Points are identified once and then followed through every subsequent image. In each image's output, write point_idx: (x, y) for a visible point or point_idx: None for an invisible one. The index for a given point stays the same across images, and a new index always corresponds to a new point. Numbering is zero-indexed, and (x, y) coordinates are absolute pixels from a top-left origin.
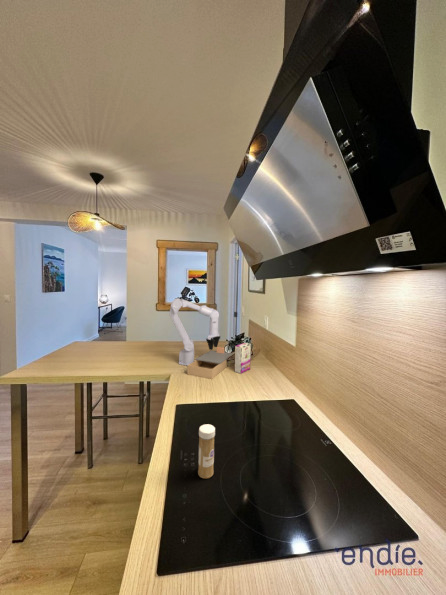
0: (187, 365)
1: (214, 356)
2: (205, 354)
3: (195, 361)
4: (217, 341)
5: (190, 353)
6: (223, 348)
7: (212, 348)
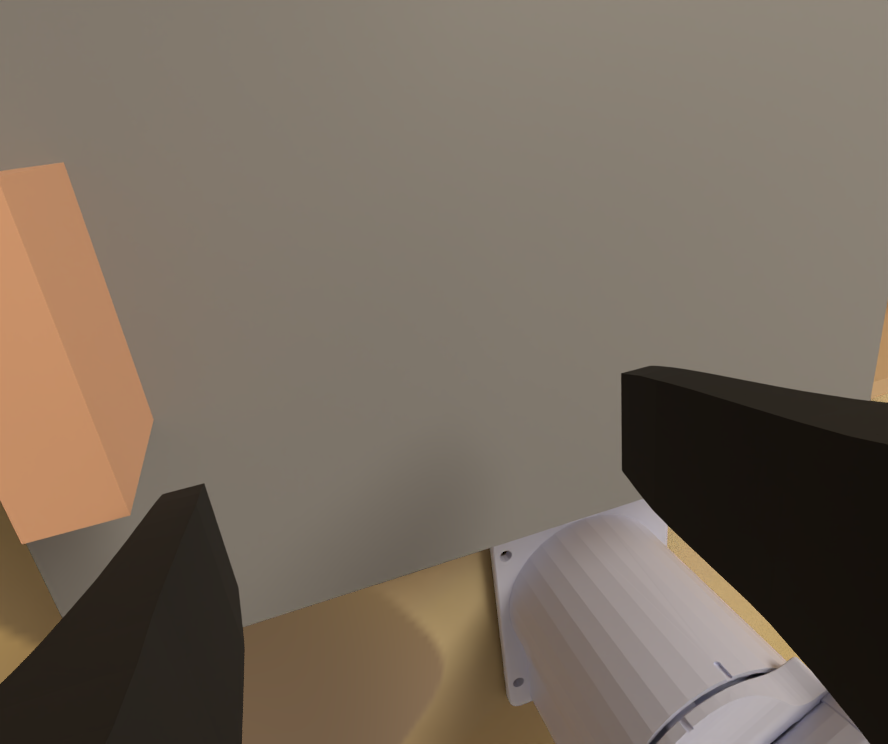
0: (664, 526)
1: (558, 215)
2: (527, 495)
3: (880, 378)
4: (157, 673)
5: (770, 650)
6: (3, 176)
7: (679, 371)
